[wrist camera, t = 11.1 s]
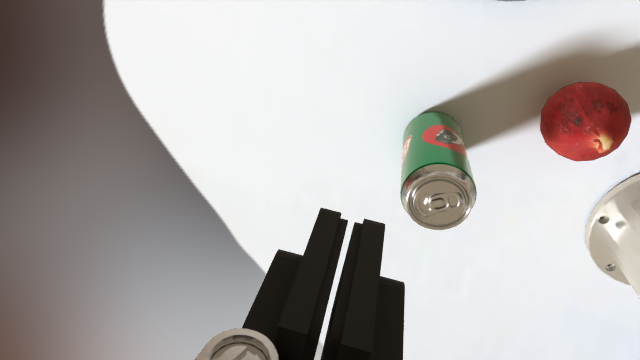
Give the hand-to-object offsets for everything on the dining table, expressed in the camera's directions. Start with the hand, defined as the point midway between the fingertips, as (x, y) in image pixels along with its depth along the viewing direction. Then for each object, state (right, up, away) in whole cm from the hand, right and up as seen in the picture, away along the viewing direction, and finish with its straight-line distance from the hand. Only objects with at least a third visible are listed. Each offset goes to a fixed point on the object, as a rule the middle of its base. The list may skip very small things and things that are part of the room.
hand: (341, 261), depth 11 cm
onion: (+20, +8, +25) cm, 33 cm away
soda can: (+10, +6, +28) cm, 30 cm away
